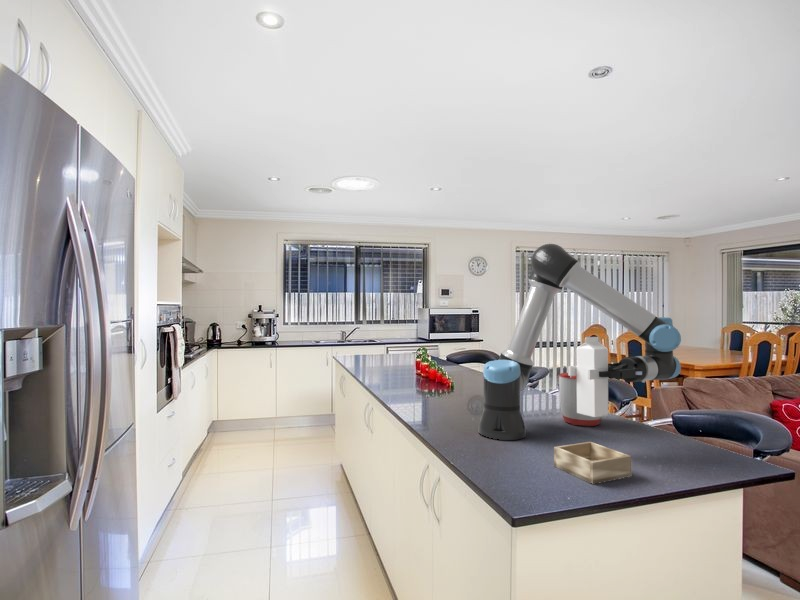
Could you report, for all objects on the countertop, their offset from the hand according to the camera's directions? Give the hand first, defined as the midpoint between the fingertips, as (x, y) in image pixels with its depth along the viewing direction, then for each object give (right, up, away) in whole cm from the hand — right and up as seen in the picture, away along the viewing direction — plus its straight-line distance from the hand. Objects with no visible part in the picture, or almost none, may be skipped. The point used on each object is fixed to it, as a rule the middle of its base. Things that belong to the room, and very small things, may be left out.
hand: (578, 372), depth 122 cm
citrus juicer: (+15, -24, +35) cm, 45 cm away
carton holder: (-2, -23, -13) cm, 26 cm away
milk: (+5, -12, +2) cm, 13 cm away
